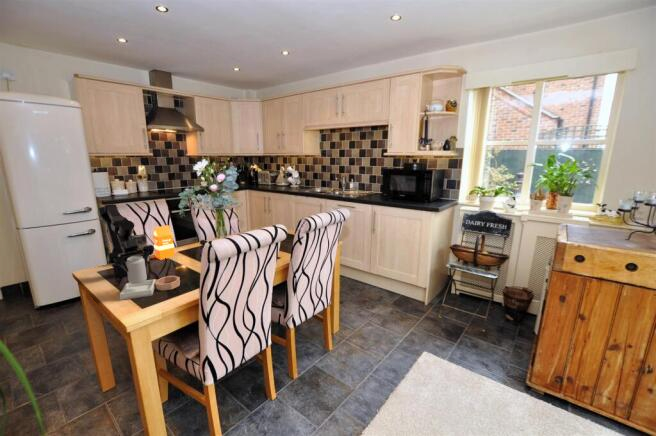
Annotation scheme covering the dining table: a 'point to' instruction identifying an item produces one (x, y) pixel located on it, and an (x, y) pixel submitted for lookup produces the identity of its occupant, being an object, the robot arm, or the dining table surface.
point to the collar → (161, 286)
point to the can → (136, 269)
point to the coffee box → (144, 240)
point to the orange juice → (163, 242)
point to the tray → (138, 290)
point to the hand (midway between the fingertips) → (137, 269)
